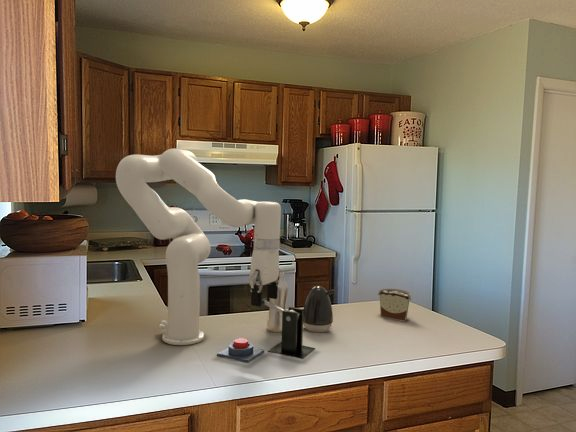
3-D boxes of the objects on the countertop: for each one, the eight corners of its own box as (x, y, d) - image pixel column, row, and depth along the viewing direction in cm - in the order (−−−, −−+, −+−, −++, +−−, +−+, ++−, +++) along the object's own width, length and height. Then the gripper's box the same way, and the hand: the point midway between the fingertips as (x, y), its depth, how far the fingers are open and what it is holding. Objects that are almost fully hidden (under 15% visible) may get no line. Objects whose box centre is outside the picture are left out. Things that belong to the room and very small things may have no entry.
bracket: (267, 354, 136) (268, 310, 135) (281, 345, 144) (282, 303, 143) (302, 362, 131) (304, 316, 130) (315, 352, 140) (316, 309, 138)
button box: (216, 359, 132) (216, 346, 131) (234, 349, 140) (234, 337, 139) (248, 366, 127) (248, 353, 127) (264, 355, 135) (264, 343, 135)
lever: (256, 306, 139) (258, 299, 138) (265, 302, 144) (267, 295, 143) (291, 324, 134) (294, 316, 134) (299, 319, 139) (302, 312, 139)
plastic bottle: (276, 327, 160) (278, 269, 159) (291, 333, 155) (293, 272, 154) (262, 331, 156) (264, 271, 154) (276, 337, 151) (278, 274, 149)
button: (231, 347, 132) (231, 341, 132) (238, 343, 136) (238, 337, 136) (243, 350, 131) (243, 344, 131) (250, 345, 134) (251, 339, 134)
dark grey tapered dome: (331, 337, 152) (333, 290, 151) (299, 334, 154) (300, 288, 153) (334, 328, 162) (336, 283, 161) (304, 325, 164) (305, 281, 163)
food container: (414, 318, 176) (416, 291, 175) (409, 322, 171) (410, 295, 170) (383, 312, 183) (384, 286, 182) (376, 316, 177) (378, 289, 177)
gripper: (269, 239, 148) (267, 293, 150) (240, 246, 133) (238, 306, 134) (291, 242, 145) (288, 297, 147) (263, 249, 130) (261, 311, 131)
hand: (264, 301), depth 141 cm, fingers open, 9 cm apart
